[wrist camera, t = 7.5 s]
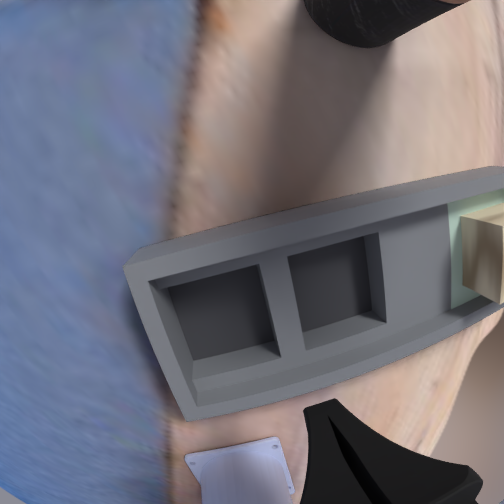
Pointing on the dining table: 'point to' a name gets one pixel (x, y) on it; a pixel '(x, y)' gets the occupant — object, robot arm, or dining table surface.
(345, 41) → the travel mug
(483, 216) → the birch block
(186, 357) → the tray
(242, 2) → the dining table surface
